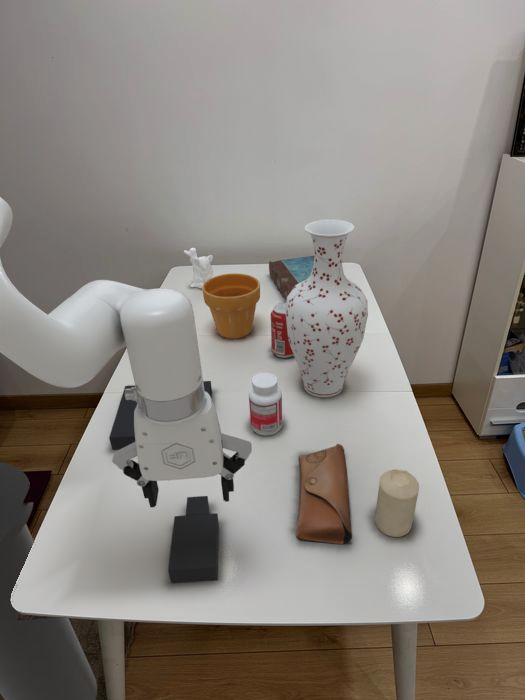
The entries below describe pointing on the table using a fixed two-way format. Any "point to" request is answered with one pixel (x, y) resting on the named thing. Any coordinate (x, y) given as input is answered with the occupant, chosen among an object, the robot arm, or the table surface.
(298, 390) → the table surface
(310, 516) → the sunglasses case
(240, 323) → the flower pot
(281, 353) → the beverage can
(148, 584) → the table surface
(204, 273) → the white animal figurine
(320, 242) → the vase
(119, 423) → the base pad
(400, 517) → the candle
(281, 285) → the book
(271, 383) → the pill bottle
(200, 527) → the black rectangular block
